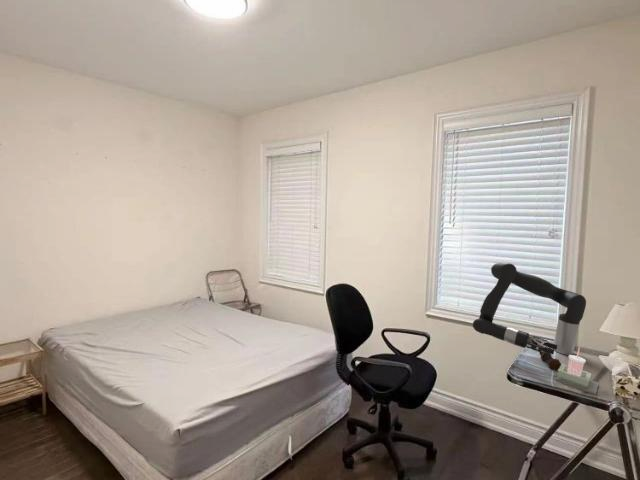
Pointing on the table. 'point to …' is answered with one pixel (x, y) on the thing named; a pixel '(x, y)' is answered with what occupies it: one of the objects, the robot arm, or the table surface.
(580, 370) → the beverage cup
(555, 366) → the bolt
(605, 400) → the table surface
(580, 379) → the pale green square tray
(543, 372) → the table surface
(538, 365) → the table surface
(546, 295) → the robot arm
